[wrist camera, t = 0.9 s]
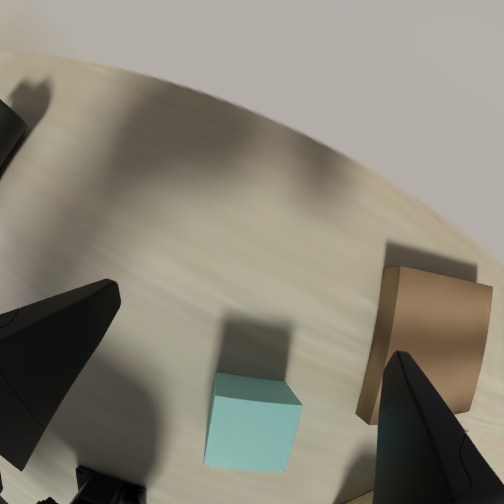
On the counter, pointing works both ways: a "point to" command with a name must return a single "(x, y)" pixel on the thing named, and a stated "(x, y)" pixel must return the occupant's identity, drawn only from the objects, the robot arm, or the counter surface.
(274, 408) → the teal block
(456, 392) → the base block
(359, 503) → the toy sofa
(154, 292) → the counter surface
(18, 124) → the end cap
